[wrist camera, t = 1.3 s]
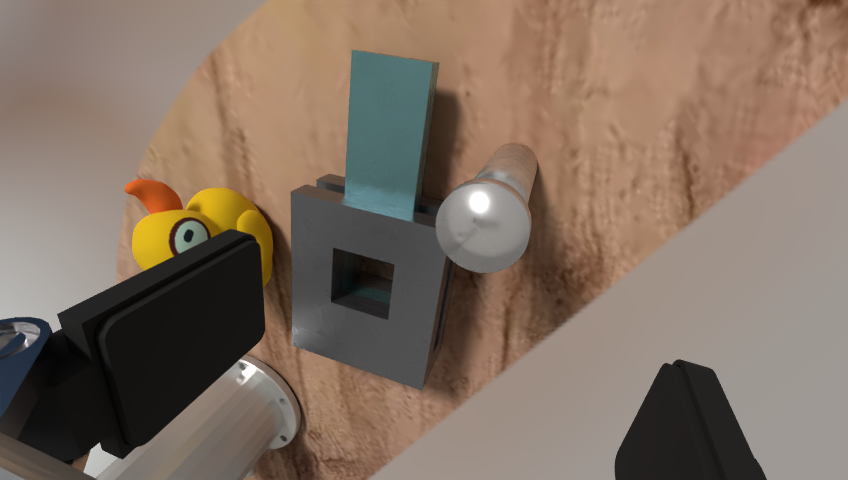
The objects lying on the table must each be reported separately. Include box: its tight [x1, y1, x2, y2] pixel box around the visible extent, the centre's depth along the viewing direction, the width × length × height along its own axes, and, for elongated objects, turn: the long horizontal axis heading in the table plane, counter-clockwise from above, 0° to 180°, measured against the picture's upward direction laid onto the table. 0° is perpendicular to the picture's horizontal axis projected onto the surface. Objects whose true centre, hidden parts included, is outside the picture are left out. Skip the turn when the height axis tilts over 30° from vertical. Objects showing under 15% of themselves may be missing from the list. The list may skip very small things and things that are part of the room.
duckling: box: [125, 179, 273, 288], centre depth 31 cm, size 11×5×10 cm, turn 16°
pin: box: [435, 143, 537, 273], centre depth 22 cm, size 4×4×12 cm
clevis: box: [291, 50, 456, 390], centre depth 29 cm, size 22×11×5 cm, turn 172°
